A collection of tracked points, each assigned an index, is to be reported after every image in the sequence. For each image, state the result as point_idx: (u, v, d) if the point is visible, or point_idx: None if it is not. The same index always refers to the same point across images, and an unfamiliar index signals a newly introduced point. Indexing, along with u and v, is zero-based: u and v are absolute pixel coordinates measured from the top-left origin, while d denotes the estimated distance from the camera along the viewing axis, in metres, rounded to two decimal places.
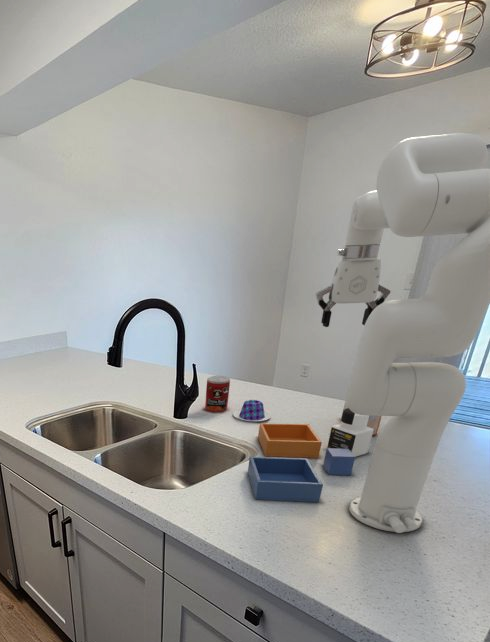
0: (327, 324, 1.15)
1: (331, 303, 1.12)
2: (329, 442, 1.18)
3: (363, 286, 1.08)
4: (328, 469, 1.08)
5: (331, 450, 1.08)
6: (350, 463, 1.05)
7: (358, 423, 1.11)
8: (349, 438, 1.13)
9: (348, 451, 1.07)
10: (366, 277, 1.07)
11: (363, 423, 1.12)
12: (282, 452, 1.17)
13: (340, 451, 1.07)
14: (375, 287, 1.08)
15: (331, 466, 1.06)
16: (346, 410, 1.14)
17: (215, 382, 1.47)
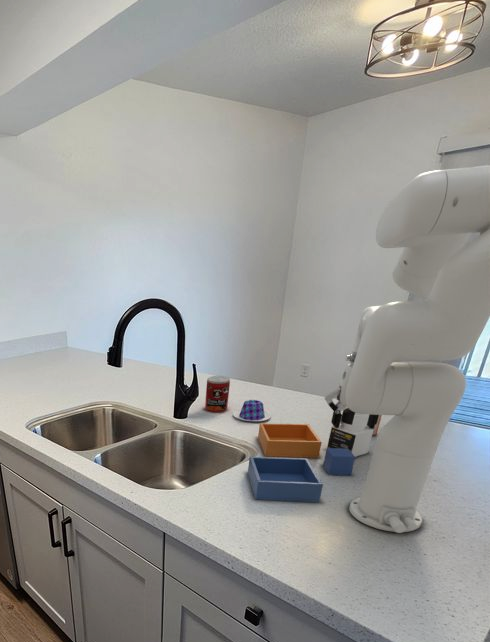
0: (338, 425, 1.14)
1: (341, 406, 1.12)
2: (329, 442, 1.19)
3: None
4: (328, 469, 1.08)
5: (331, 450, 1.08)
6: (350, 463, 1.05)
7: (358, 423, 1.11)
8: (349, 438, 1.13)
9: (348, 451, 1.07)
10: None
11: (363, 423, 1.12)
12: (282, 452, 1.17)
13: (340, 451, 1.07)
14: None
15: (331, 466, 1.06)
16: (346, 410, 1.14)
17: (215, 382, 1.47)
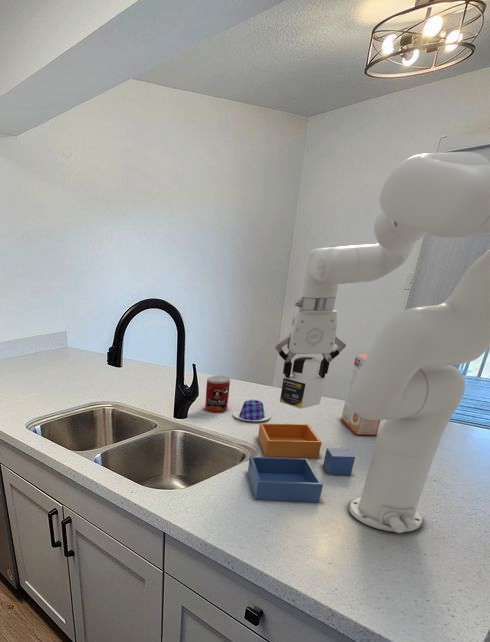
0: (288, 375, 1.13)
1: (291, 354, 1.10)
2: (281, 394, 1.17)
3: (320, 338, 1.06)
4: (328, 469, 1.08)
5: (331, 450, 1.08)
6: (350, 463, 1.05)
7: (308, 371, 1.10)
8: (299, 387, 1.11)
9: (348, 451, 1.07)
10: (322, 329, 1.05)
11: (313, 371, 1.10)
12: (282, 452, 1.17)
13: (340, 451, 1.07)
14: (332, 339, 1.06)
15: (331, 466, 1.06)
16: (297, 359, 1.12)
17: (215, 382, 1.47)
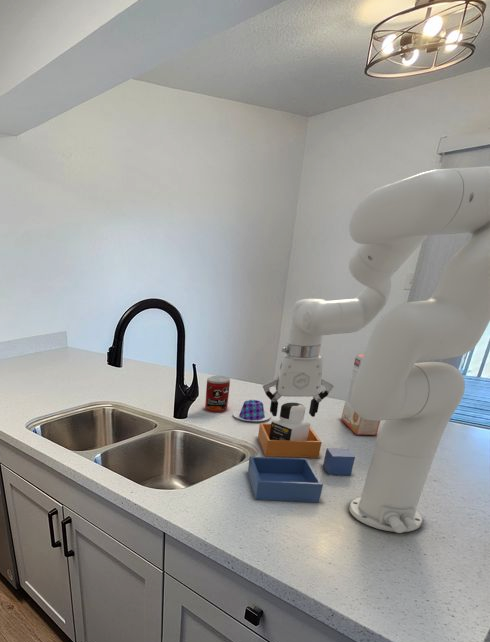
0: (275, 414, 1.18)
1: (277, 395, 1.16)
2: (270, 436, 1.23)
3: (306, 382, 1.11)
4: (328, 469, 1.08)
5: (331, 450, 1.08)
6: (350, 463, 1.05)
7: (294, 417, 1.16)
8: (286, 432, 1.17)
9: (348, 451, 1.07)
10: (309, 374, 1.10)
11: (299, 417, 1.16)
12: (282, 452, 1.17)
13: (340, 451, 1.07)
14: (318, 383, 1.11)
15: (331, 466, 1.06)
16: (284, 405, 1.18)
17: (215, 382, 1.47)
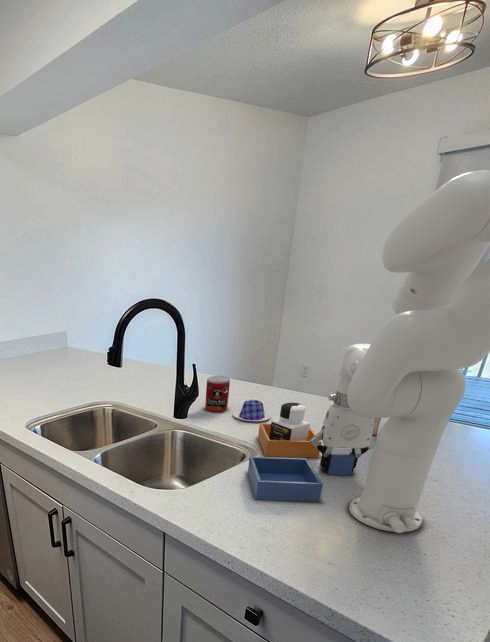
0: (326, 469, 1.08)
1: (328, 449, 1.06)
2: (270, 436, 1.23)
3: (356, 433, 1.01)
4: (328, 469, 1.08)
5: None
6: (350, 463, 1.05)
7: (294, 417, 1.16)
8: (286, 432, 1.17)
9: (348, 451, 1.07)
10: (359, 425, 1.00)
11: (299, 417, 1.16)
12: (282, 452, 1.17)
13: (340, 451, 1.07)
14: (369, 435, 1.01)
15: (331, 466, 1.06)
16: (284, 405, 1.18)
17: (215, 382, 1.47)
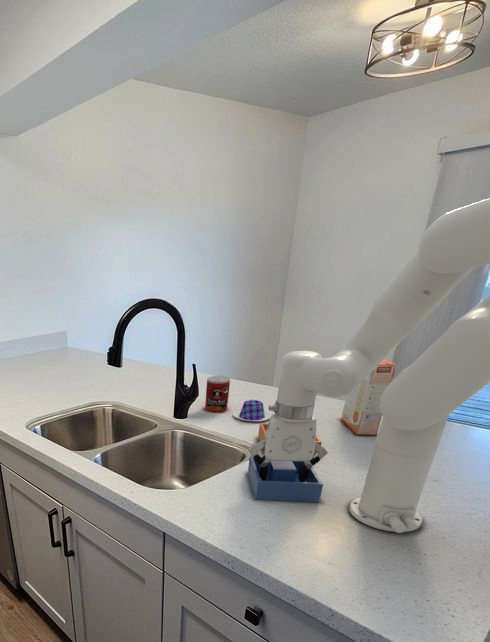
0: (264, 480, 1.02)
1: (266, 460, 1.00)
2: None
3: (298, 446, 0.95)
4: None
5: (274, 462, 1.02)
6: (292, 477, 0.99)
7: None
8: None
9: (291, 464, 1.01)
10: (300, 437, 0.94)
11: None
12: None
13: (282, 464, 1.02)
14: (311, 447, 0.95)
15: (273, 479, 1.01)
16: None
17: (215, 382, 1.47)
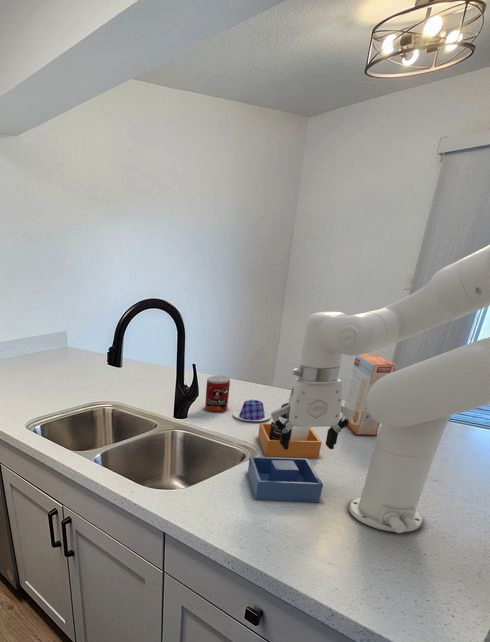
0: (286, 446, 1.00)
1: (289, 425, 0.98)
2: (270, 436, 1.23)
3: (323, 410, 0.94)
4: None
5: (276, 462, 1.03)
6: (294, 476, 0.99)
7: None
8: None
9: (293, 463, 1.01)
10: (326, 401, 0.93)
11: None
12: (282, 452, 1.17)
13: (284, 463, 1.02)
14: (337, 411, 0.93)
15: (275, 479, 1.01)
16: (284, 405, 1.18)
17: (215, 382, 1.47)
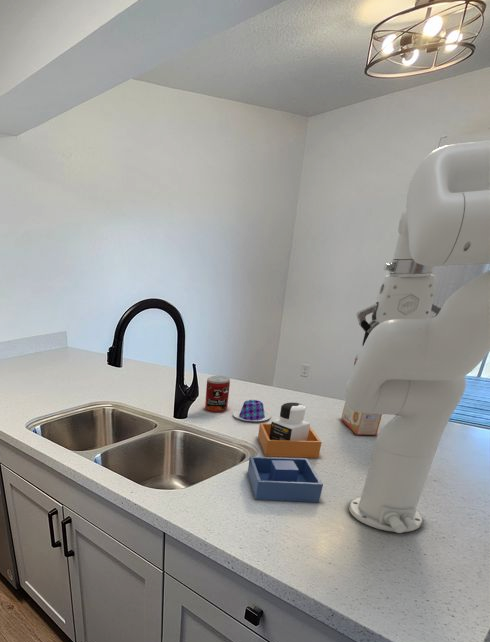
0: None
1: (375, 324, 0.98)
2: (270, 436, 1.23)
3: (414, 306, 0.94)
4: None
5: (276, 462, 1.03)
6: (294, 476, 0.99)
7: (294, 417, 1.16)
8: (286, 432, 1.17)
9: (293, 463, 1.01)
10: (418, 295, 0.93)
11: (299, 418, 1.16)
12: (282, 452, 1.17)
13: (284, 463, 1.02)
14: (428, 307, 0.93)
15: (275, 479, 1.01)
16: (284, 405, 1.18)
17: (215, 382, 1.47)
